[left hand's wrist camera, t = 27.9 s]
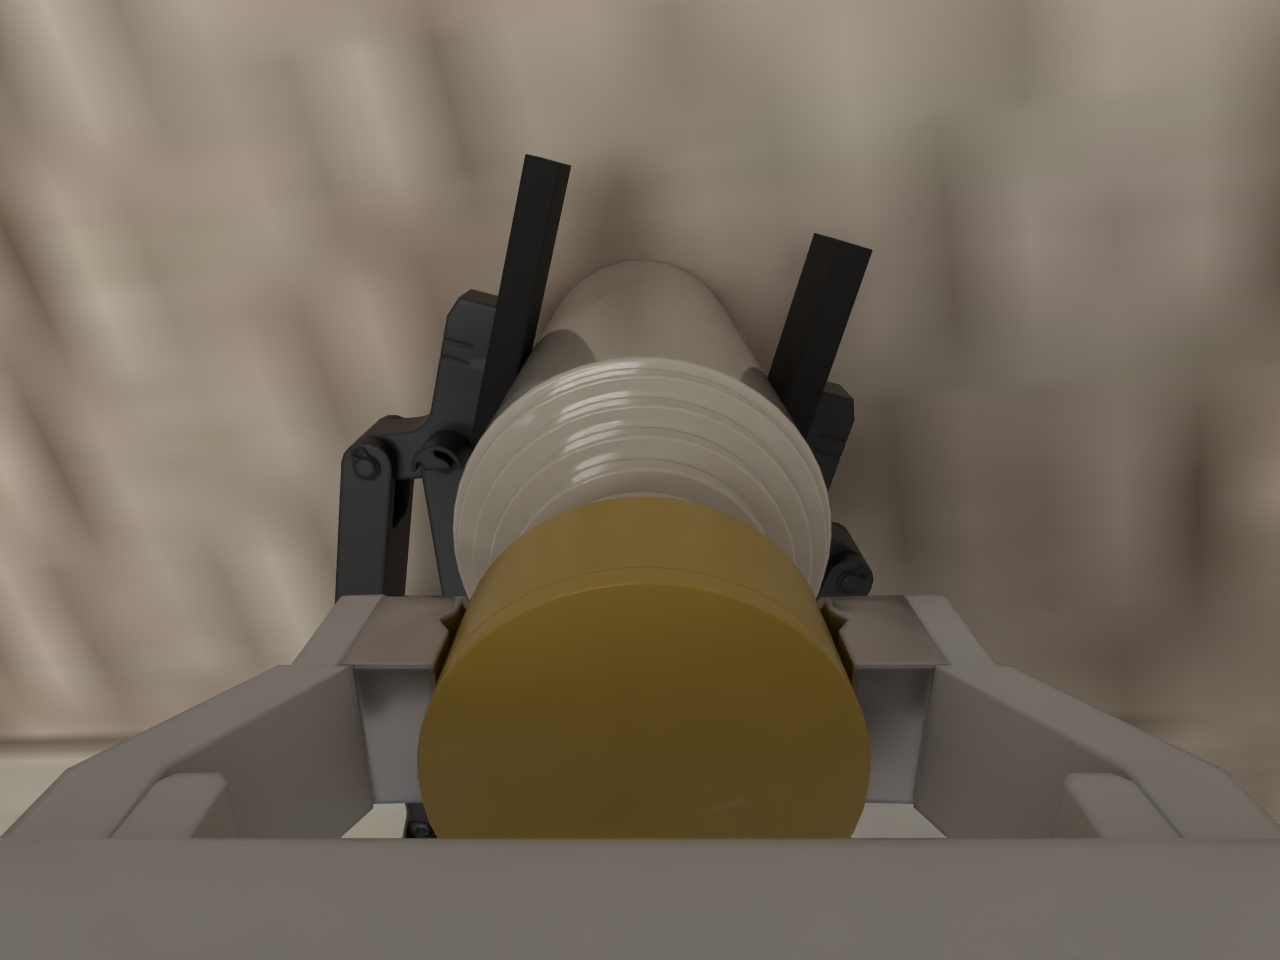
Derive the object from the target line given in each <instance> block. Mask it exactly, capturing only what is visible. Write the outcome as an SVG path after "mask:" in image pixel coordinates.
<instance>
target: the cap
mask: <svg viewBox="0 0 1280 960" xmlns="http://www.w3.org/2000/svg"><path fill="white" fill-rule="evenodd" d="M870 771H871V751H870V738H869V734H868V730H867V725H866V721H865V717H864V713H863V711H862V709H861V706H860V704H859V701H858V699H857V697H856V694H855V692H854V689H853V687H852V685H851V682H850V680H849V677H848V675H847V673H846V670H845V668H844V665H843V663H842V661H841V658H840V656H839V653H838V651H837V649H836V646H835V644H834V641H833V639H832V637H831V634H830V632H829V629H828V627H827V625H826V622H825V620H824V617H823V615H822V613H821V610H820V608H819V606H818V603H817V601H816V599H815V596H814V594H813V591H812V589H811V588H810V586H809V584H808V583H807V581H806V580H805V578H804V576H803V575H802V573H801V571H800V570H799V569H798V568H797V566H796V565H795V564H794V563H793V562H792V560H791V559H790V558H789V557H788V556H787V555H786V553H785V552H784V551H782V550H781V549H780V548H779V547H778V546H777V545H776V544H775V543H773V542H772V541H771V540H770V539H769V538H768V537H766V536H765V535H764V534H762V533H761V532H759V531H758V530H756V529H755V528H753V527H752V526H750V525H749V524H747V523H745V522H743V521H741V520H739V519H737V518H735V517H733V516H731V515H729V514H727V513H725V512H722V511H719V510H717V509H714V508H711V507H708V506H705V505H702V504H698V503H694V502H689V501H684V500H680V499H674V498H663V497H651V496H644V497H621V498H615V499H608V500H602V501H596V502H593V503H589V504H586V505H582V506H579V507H575V508H572V509H570V510H567V511H565V512H563V513H560V514H558V515H556V516H553V517H551V518H549V519H547V520H545V521H544V522H542V523H540V524H539V525H537V526H535V527H533V528H532V529H530V530H528V531H527V532H526V533H524V534H523V535H522V536H521V537H519V538H518V539H517V540H515V541H514V542H513V543H512V544H510V545H509V546H508V547H507V548H506V549H505V550H504V551H503V552H502V553H501V554H500V555H499V556H498V557H497V559H496V560H495V561H494V562H493V563H492V564H491V566H490V567H489V568H488V570H487V571H486V572H485V574H484V575H483V577H482V578H481V579H480V581H479V583H478V585H477V587H476V589H475V591H474V592H473V594H472V596H471V598H470V600H469V603H468V605H467V608H466V610H465V613H464V615H463V618H462V621H461V623H460V626H459V628H458V631H457V633H456V636H455V638H454V641H453V643H452V646H451V648H450V651H449V654H448V656H447V659H446V661H445V664H444V666H443V669H442V671H441V674H440V676H439V679H438V681H437V684H436V687H435V689H434V692H433V694H432V697H431V699H430V702H429V704H428V707H427V710H426V713H425V716H424V719H423V722H422V725H421V730H420V736H419V742H418V749H417V776H418V782H419V788H420V794H421V799H422V802H423V805H424V808H425V811H426V814H427V817H428V820H429V823H430V825H431V827H432V829H433V831H434V832H435V834H436V836H437V838H850V837H851V835H852V834H853V832H854V830H855V828H856V825H857V823H858V821H859V818H860V816H861V814H862V811H863V808H864V804H865V800H866V796H867V792H868V788H869V782H870Z"/></svg>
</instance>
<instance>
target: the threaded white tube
mask: <svg viewBox="0 0 1280 960" xmlns="http://www.w3.org/2000/svg"><path fill="white" fill-rule="evenodd" d="M644 496H651V497H663V498H674V499H680V500H684V501H689V502H694V503H698V504H702V505H705V506H708V507H711V508H714V509H717V510H719V511H722V512H725V513H727V514H729V515H731V516H733V517H735V518H737V519H739V520H741V521H743V522H745V523H747V524H749V525H750V526H752V527H753V528H755V529H756V530H758V531H759V532H761V533H762V534H764V535H765V536H766V537H768V538H769V539H770V540H771V541H772V542H773V543H775V544H776V545H777V546H778V547H779V548H780V549H781V550H782V551H784V552H785V553H786V555H787V556H788V557H789V558H790V559H791V560H792V562H793V563H794V564H795V565H796V566H797V568H798V569H799V570H800V571H801V573H802V575H803V576H804V578H805V580H806V581H807V583H808V584H809V586H810V588H811V589H812V591H813V594H814V596H815V599H816V597H817V595H818V593H819V590H820V587H821V583H822V580H823V578H824V574H825V570H826V566H827V563H828V559H829V553H830V544H831V536H832V530H831V509H830V503H829V498H828V492H827V488H826V485H825V482H824V479H823V476H822V473H821V470H820V467H819V465H818V463H817V461H816V459H815V457H814V455H813V453H812V451H811V449H810V447H809V445H808V444H807V442H806V440H805V439H804V437H803V435H802V434H801V432H800V430H799V429H798V427H797V426H796V424H795V422H794V421H793V419H792V417H791V416H790V414H789V413H788V411H787V409H786V408H785V406H784V404H783V403H782V401H781V400H780V398H779V396H778V395H777V393H776V391H775V390H774V388H773V386H772V385H771V383H770V382H769V380H768V378H767V377H766V375H765V373H764V372H763V370H762V369H761V367H760V365H759V364H758V362H757V360H756V359H755V357H754V355H753V354H752V352H751V351H750V349H749V347H748V346H747V344H746V342H745V341H744V339H743V338H742V336H741V334H740V333H739V331H738V329H737V328H736V326H735V324H734V323H733V321H732V320H731V318H730V316H729V315H728V313H727V311H726V310H725V308H724V307H723V305H722V304H721V302H720V301H719V299H718V298H717V297H716V295H715V294H714V293H713V292H712V291H711V290H710V289H709V288H708V287H707V286H706V285H705V284H704V283H702V282H701V281H700V280H699V279H697V278H696V277H694V276H693V275H691V274H689V273H688V272H686V271H684V270H682V269H679V268H677V267H675V266H672V265H668V264H665V263H661V262H654V261H639V260H636V261H627V262H621V263H617V264H613V265H610V266H607V267H605V268H602V269H600V270H598V271H596V272H594V273H592V274H591V275H589V276H587V277H586V278H584V279H583V280H582V281H581V282H579V283H578V284H577V285H576V286H575V287H574V288H573V289H572V290H571V291H570V292H569V293H568V294H567V295H566V296H565V298H564V299H563V300H562V302H561V303H560V305H559V306H558V308H557V310H556V311H555V313H554V315H553V316H552V318H551V320H550V321H549V323H548V325H547V326H546V328H545V330H544V332H543V333H542V335H541V337H540V338H539V340H538V342H537V343H536V345H535V347H534V348H533V350H532V352H531V354H530V355H529V357H528V359H527V360H526V362H525V364H524V365H523V367H522V369H521V370H520V372H519V374H518V376H517V377H516V379H515V381H514V382H513V384H512V386H511V387H510V389H509V391H508V392H507V394H506V396H505V398H504V399H503V401H502V403H501V404H500V406H499V408H498V409H497V411H496V413H495V414H494V416H493V418H492V420H491V421H490V423H489V425H488V426H487V428H486V430H485V431H484V433H483V435H482V436H481V438H480V440H479V442H478V443H477V445H476V447H475V449H474V451H473V452H472V454H471V456H470V458H469V460H468V461H467V464H466V467H465V469H464V472H463V475H462V477H461V480H460V482H459V486H458V491H457V496H456V500H455V505H454V516H453V540H454V552H455V556H456V561H457V565H458V570H459V574H460V576H461V579H462V582H463V586H464V588H465V591H466V594H467V596H468V599H469V600H470V598H471V596H472V594H473V592H474V591H475V589H476V587H477V585H478V583H479V581H480V579H481V578H482V577H483V575H484V574H485V572H486V571H487V570H488V568H489V567H490V566H491V564H492V563H493V562H494V561H495V560H496V559H497V557H498V556H499V555H500V554H501V553H502V552H503V551H504V550H505V549H506V548H507V547H508V546H509V545H510V544H512V543H513V542H514V541H515V540H517V539H518V538H519V537H521V536H522V535H523V534H524V533H526V532H527V531H528V530H530V529H532V528H533V527H535V526H537V525H539V524H540V523H542V522H544V521H545V520H547V519H549V518H551V517H553V516H556V515H558V514H560V513H563V512H565V511H567V510H570V509H572V508H575V507H579V506H582V505H586V504H589V503H593V502H596V501H602V500H608V499H615V498H621V497H644Z"/></svg>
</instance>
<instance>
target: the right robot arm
mask: <svg viewBox="0 0 1280 960" xmlns="http://www.w3.org/2000/svg"><path fill="white" fill-rule="evenodd" d="M570 169H571V166H570V165H567V164H563V163H559V162H556V161H552V160H549V159H545V158H541V157H537V156H532V155H527V154H526V155H525V160H524V165H523V170H522V176H521V181H520V186H519V191H518V196H517V202H516V207H515V212H514V217H513V222H512V228H511V233H510V238H509V243H508V248H507V254H506V259H505V264H504V269H503V274H502V280H501V285H500V290H499V295H498V296H496V295H492V294H488V293H484V292H481V291H477V290H473V289H471V290H469V291H468V292H466V293H465V294H463V295H462V296H460V297H459V298H458V300H457V301H456V303H455V305H454V306H453V308H452V309H451V311H450V312H449V314H448V315H447V319H446V325H445V331H444V337H443V338H444V339H443V343H442V349H441V354H440V355H441V357H440V360H439V366H438V372H437V378H436V384H435V390H434V395H433V401H432V407H431V411H430V414H429V415H426V416H422V417H414V418H403V417H400V416H398V415H387V416H385V417H383V418H381V419H379V420H378V421H377V422H376V423H375V424H374V425H373V426H372V427H371V428H369V429H368V430H367V431H366V432H365V433H364V434H363V435H362V436H361V437H360V438H359V439H358V440H356V441H355V442H354V443H353V444H352V445H351V446H350V447H349V448H348V449H347V451H346V452H345V453H344V455H343V458H342V462H341V483H340V505H339V527H338V548H337V570H336V592H335V604H336V603H337V601H338V600H339V599H340V598H341V597H342V596H347V595H377V594H384V595H385V596H388V595H401V596H405V585H406V573H407V561H408V548H409V536H410V524H411V511H412V499H413V487H414V479H416V478H422V479H423V485H424V491H425V497H426V502H427V508H428V514H429V520H430V525H431V531H432V537H433V543H434V549H435V554H436V560H437V566H438V572H439V577H440V583H441V589H442V595H443V596H456V597H467V599H468V596H467V594H466V591H465V588H464V586H463V582H462V579H461V576H460V574H459V570H458V565H457V561H456V556H455V552H454V540H453V516H454V505H455V500H456V496H457V491H458V486H459V482H460V480H461V477H462V475H463V472H464V469H465V467H466V464H467V461H468V460H469V458H470V456H471V454H472V452H473V451H474V449H475V447H476V445H477V443H478V442H479V440H480V438H481V436H482V435H483V433H484V431H485V430H486V428H487V426H488V425H489V423H490V421H491V420H492V418H493V416H494V414H495V413H496V411H497V409H498V408H499V406H500V404H501V403H502V401H503V399H504V398H505V396H506V394H507V392H508V391H509V389H510V387H511V386H512V384H513V382H514V381H515V379H516V377H517V376H518V374H519V372H520V370H521V369H522V367H523V365H524V364H525V362H526V360H527V359H528V357H529V355H530V354H531V352H532V348H533V343H534V339H535V334H536V329H537V324H538V320H539V315H540V310H541V306H542V301H543V296H544V291H545V287H546V282H547V277H548V273H549V268H550V263H551V258H552V254H553V249H554V244H555V240H556V235H557V230H558V225H559V221H560V216H561V211H562V207H563V202H564V197H565V192H566V188H567V183H568V178H569V174H570ZM871 253H872V250H871V249H868V248H864V247H861V246H858V245H855V244H851V243H848V242H845V241H842V240H838V239H834V238H831V237H827V236H823V235H820V234H816V233H814V236H813V239H812V242H811V245H810V248H809V251H808V254H807V257H806V260H805V264H804V267H803V270H802V273H801V276H800V279H799V282H798V285H797V288H796V291H795V294H794V298H793V301H792V304H791V307H790V310H789V313H788V316H787V319H786V322H785V325H784V329H783V332H782V335H781V338H780V341H779V344H778V347H777V350H776V353H775V356H774V359H773V363H772V366H771V369H770V372H769V375H768V380H769V382H770V383H771V385H772V386H773V388H774V390H775V391H776V393H777V395H778V396H779V398H780V400H781V401H782V403H783V404H784V406H785V408H786V409H787V411H788V413H789V414H790V416H791V417H792V419H793V421H794V422H795V424H796V426H797V427H798V429H799V430H800V432H801V434H802V435H803V437H804V439H805V440H806V442H807V444H808V445H809V447H810V449H811V451H812V453H813V455H814V457H815V459H816V461H817V463H818V465H819V467H820V470H821V473H822V476H823V479H824V482H825V485H826V488H827V492H828V490H829V487H830V484H831V482H832V479H833V476H834V474H835V471H836V468H837V466H838V463H839V460H840V456H841V455H842V452H843V449H844V447H845V442H846V441H847V439H848V436H849V433H850V430H851V428H852V425H853V422H854V400H853V398H852V397H851V396H850V395H849V394H848V393H847V392H846V391H845V390H844V389H843V388H842V387H841V386H840V385H838V384H834V383H830V382H827V379H828V376H829V373H830V370H831V367H832V364H833V362H834V359H835V356H836V353H837V350H838V347H839V344H840V342H841V339H842V336H843V333H844V330H845V327H846V324H847V322H848V319H849V316H850V313H851V310H852V307H853V304H854V302H855V299H856V296H857V293H858V290H859V287H860V284H861V282H862V279H863V276H864V273H865V270H866V267H867V265H868V262H869V259H870V256H871ZM831 530H832V536H831V544H830V553H829V559H828V563H827V566H826V570H825V574H824V578H823V580H822V583H821V587H820V590H819V593H818V595H817V597H816V601H817V602H818V599H819V598H822V597H844V596H867V595H868V593H869V591H870V589H871V587H872V583H873V575H872V571H871V569H870V568H869V566H868V564H867V563H866V561H865V559H864V558H863V556H862V554H861V552H860V551H859V549H858V547H857V546H856V544H855V542H854V541H853V539H852V537H851V535H850V534H849V532H848V531H847V529H846V528H845V527H844V526H842V525H841V524H839V523H836V522H831ZM468 601H469V599H468ZM405 805H406V810H407V815H406V821H405V827H404V832H403V837H402V838H437V836H436V834H435V832H434V831H433V829H432V827H431V825H430V823H429V820H428V817H427V814H426V811H425V808H424V805H423V802H420V803H405Z"/></svg>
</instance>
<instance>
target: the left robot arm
mask: <svg viewBox="0 0 1280 960" xmlns="http://www.w3.org/2000/svg"><path fill="white" fill-rule="evenodd" d="M468 603H469V601H468V599H467V597H456V596H401V595H388V596H385V595H384V594H377V595H347V596H342V597H341V598H340V599H339V600H338V601H337V603H336V604H335V605H334V607H333V608H332V609H331V611H330V612H329V614H328V615H327V616H326V618H325V619H324V620H323V622H322V623H321V625H320V626H319V627H318V629H317V630H316V631H315V633H314V634H313V636H312V637H311V638H310V640H309V641H308V643H307V644H306V645H305V647H304V648H303V649H302V651H301V652H300V654H299V655H298V656H297V658H296V659H295V660H294V662H293V663H292V665H278V666H276V667H274V668H272V669H270V670H268V671H266V672H264V673H262V674H260V675H258V676H256V677H254V678H251V679H249V680H247V681H245V682H243V683H241V684H239V685H237V686H235V687H233V688H231V689H229V690H227V691H225V692H223V693H221V694H219V695H217V696H215V697H213V698H211V699H209V700H207V701H205V702H203V703H201V704H199V705H197V706H194V707H192V708H190V709H188V710H186V711H184V712H182V713H180V714H178V715H176V716H174V717H172V718H170V719H168V720H166V721H164V722H162V723H160V724H158V725H156V726H154V727H152V728H150V729H148V730H146V731H144V732H142V733H139V734H137V735H135V736H133V737H131V738H129V739H127V740H125V741H123V742H121V743H119V744H117V745H115V746H113V747H111V748H109V749H107V750H105V751H103V752H101V753H99V754H97V755H95V756H93V757H91V758H89V759H87V760H84V761H82V762H80V763H78V764H76V765H74V766H72V767H70V768H68V769H66V770H65V771H64V772H63V773H62V774H61V775H60V776H59V777H58V778H57V779H56V780H55V781H54V782H53V784H52V785H51V786H50V787H49V788H48V789H47V790H46V791H45V792H44V793H43V794H42V795H41V796H40V797H39V798H38V799H37V800H36V801H35V802H34V803H33V804H32V805H31V806H30V807H29V808H28V809H27V810H26V811H25V812H24V813H23V814H22V815H21V816H20V817H19V818H18V819H17V820H16V821H15V822H14V823H13V824H12V826H11V827H10V828H9V829H8V830H7V831H6V832H5V833H4V834H3V835H2V836H1V837H0V960H1280V826H1279V825H1278V824H1277V823H1276V822H1275V820H1274V819H1273V818H1272V817H1271V816H1270V815H1269V814H1268V813H1267V812H1266V811H1265V810H1264V809H1263V808H1262V807H1261V806H1260V805H1259V804H1258V803H1257V802H1256V801H1255V800H1254V799H1253V798H1252V797H1251V796H1250V795H1249V794H1248V793H1247V792H1246V791H1245V790H1244V789H1243V788H1242V787H1241V786H1240V785H1239V784H1238V783H1237V782H1236V781H1235V780H1234V779H1233V778H1232V777H1231V776H1230V775H1229V774H1228V773H1227V772H1226V771H1225V770H1223V769H1221V768H1219V767H1217V766H1215V765H1213V764H1211V763H1209V762H1207V761H1205V760H1202V759H1200V758H1198V757H1196V756H1194V755H1192V754H1190V753H1188V752H1186V751H1184V750H1182V749H1180V748H1178V747H1176V746H1174V745H1172V744H1170V743H1168V742H1166V741H1164V740H1161V739H1159V738H1157V737H1155V736H1153V735H1151V734H1149V733H1147V732H1145V731H1143V730H1141V729H1139V728H1137V727H1135V726H1133V725H1131V724H1129V723H1127V722H1125V721H1123V720H1121V719H1118V718H1116V717H1114V716H1112V715H1110V714H1108V713H1106V712H1104V711H1102V710H1100V709H1098V708H1096V707H1094V706H1092V705H1090V704H1088V703H1086V702H1084V701H1082V700H1080V699H1077V698H1075V697H1073V696H1071V695H1069V694H1067V693H1065V692H1063V691H1061V690H1059V689H1057V688H1055V687H1053V686H1051V685H1049V684H1047V683H1045V682H1043V681H1041V680H1039V679H1037V678H1034V677H1032V676H1030V675H1028V674H1026V673H1024V672H1022V671H1020V670H1018V669H1016V668H1014V667H1012V666H1010V665H996V664H995V662H994V661H993V660H992V658H991V657H990V656H989V654H988V653H987V652H986V650H985V649H984V648H983V646H982V645H981V644H980V642H979V641H978V639H977V638H976V637H975V635H974V634H973V633H972V631H971V630H970V629H969V627H968V626H967V625H966V623H965V622H964V621H963V619H962V618H961V617H960V615H959V614H958V613H957V611H956V610H955V609H954V607H953V606H952V605H951V603H950V602H949V601H948V599H947V598H946V597H944V596H942V595H939V594H931V595H909V596H903V595H886V596H844V597H822V598H819V599H818V602H817V603H818V606H819V608H820V610H821V613H822V615H823V617H824V620H825V622H826V625H827V627H828V629H829V632H830V634H831V637H832V639H833V641H834V644H835V646H836V649H837V651H838V653H839V656H840V658H841V661H842V663H843V665H844V668H845V670H846V673H847V675H848V677H849V680H850V682H851V685H852V687H853V689H854V692H855V694H856V697H857V699H858V701H859V704H860V706H861V709H862V711H863V713H864V717H865V721H866V725H867V730H868V734H869V738H870V751H871V771H870V782H869V788H868V792H867V796H866V800H865V803H902V804H914V808H915V809H916V810H917V811H919V812H920V813H921V814H922V815H923V816H924V817H925V818H926V819H927V820H929V821H930V822H931V823H932V824H933V825H934V826H935V827H936V828H937V829H938V830H940V831H941V832H942V833H943V834H944V835H945V836H946V837H947V838H341V837H342V836H343V835H344V834H345V833H346V832H347V831H348V830H349V829H351V828H352V827H353V826H354V825H355V824H356V823H357V822H358V821H359V820H360V819H362V818H363V817H364V816H365V815H366V814H367V813H368V812H369V811H370V810H371V809H373V804H385V803H420V802H422V799H421V794H420V788H419V782H418V776H417V749H418V742H419V736H420V730H421V725H422V722H423V719H424V716H425V713H426V710H427V707H428V704H429V702H430V699H431V697H432V694H433V692H434V689H435V687H436V684H437V681H438V679H439V676H440V674H441V671H442V669H443V666H444V664H445V661H446V659H447V656H448V654H449V651H450V648H451V646H452V643H453V641H454V638H455V636H456V633H457V631H458V628H459V626H460V623H461V621H462V618H463V615H464V613H465V610H466V608H467V605H468Z"/></svg>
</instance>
